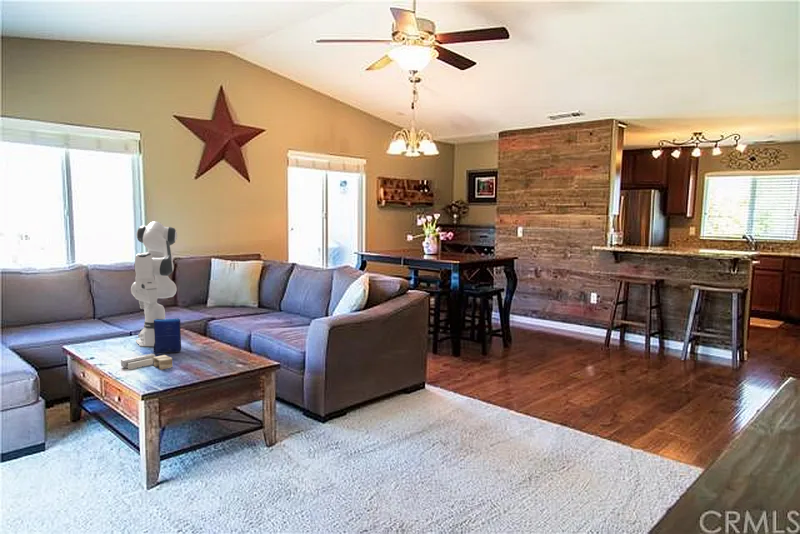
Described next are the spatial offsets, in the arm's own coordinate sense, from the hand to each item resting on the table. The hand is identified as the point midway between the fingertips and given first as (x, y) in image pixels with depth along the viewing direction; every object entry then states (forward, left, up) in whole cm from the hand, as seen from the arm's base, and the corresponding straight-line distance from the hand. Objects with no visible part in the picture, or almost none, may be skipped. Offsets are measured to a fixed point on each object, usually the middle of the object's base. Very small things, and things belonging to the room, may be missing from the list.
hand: (146, 309), depth 275 cm
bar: (-1, -5, -28) cm, 29 cm away
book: (-13, +16, -29) cm, 36 cm away
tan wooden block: (+11, +3, -29) cm, 31 cm away
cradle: (-1, -5, -29) cm, 30 cm away
